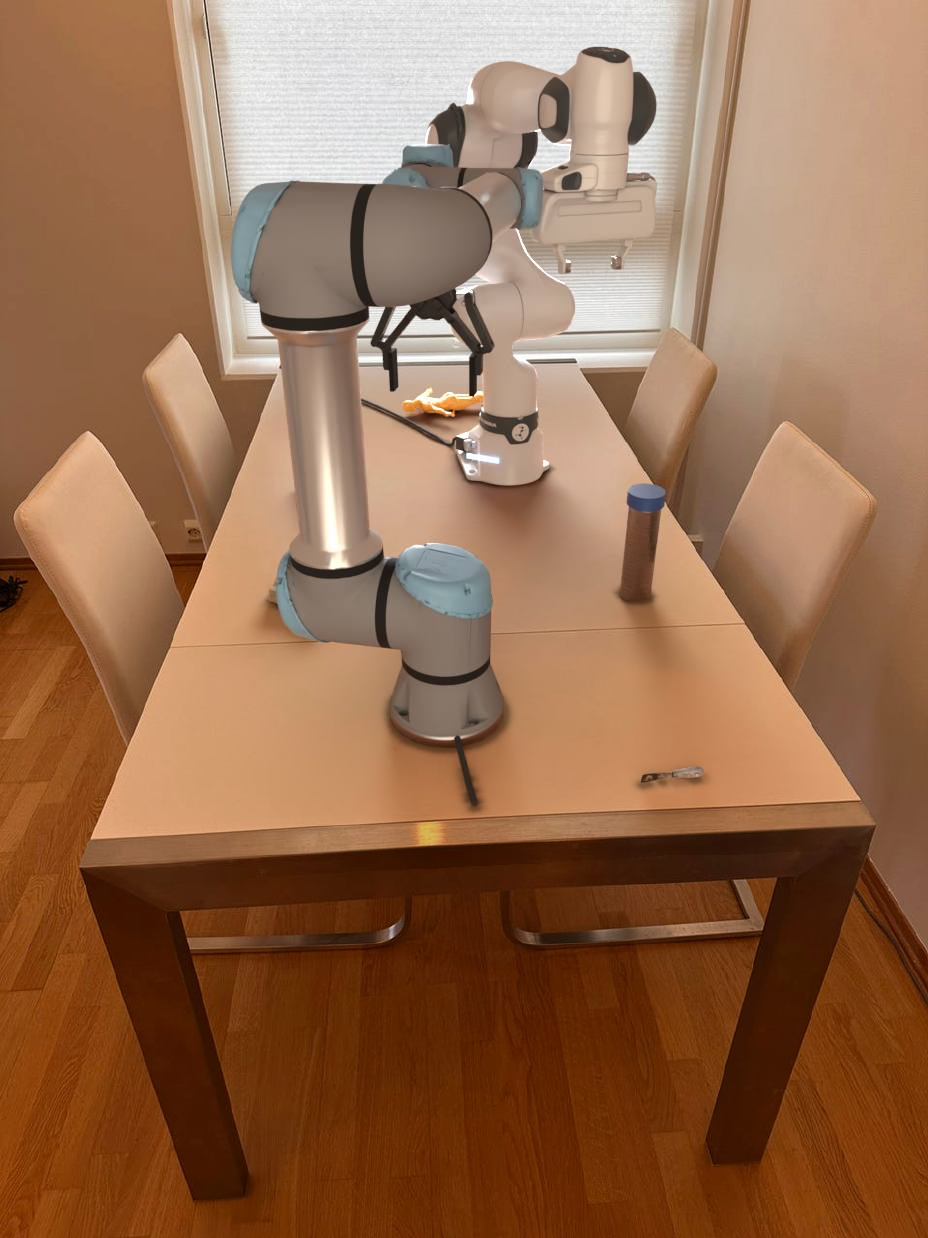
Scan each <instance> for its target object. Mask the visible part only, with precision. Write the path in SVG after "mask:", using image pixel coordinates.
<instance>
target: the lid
mask: <svg viewBox="0 0 928 1238" xmlns="http://www.w3.org/2000/svg"><path fill="white" fill-rule="evenodd" d="M666 496H667V490H666V489H665V488H664V487H662V486H659V485H657V484H653V483H636V484H635V483H634V484H632V485H631V486H629V487H628V488H627V495H626V505H627V506H628V508H629V507H630V508H632V509H635V510H638V511H644V512H653V511H658V510H661V511H662V510H663V508H665V503H666Z"/></svg>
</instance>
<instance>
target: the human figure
mask: <svg viewBox="0 0 928 1238" xmlns="http://www.w3.org/2000/svg"><path fill="white" fill-rule="evenodd" d="M424 391H425V392H423V393H422V394H420V395H418V396H416V398H415V399H414V400H404V401H403V402H402V411H404V412H405V413H410V414H412V413H414V412H417V408H418V409H420V410H421V411H423V412H424V413H427V414H439V415H443V416H444V417H449V416H450V417H451V418H452V417H453V418H454V417H455V416H456V414H455V411H462V410H464V409H467V408H469V407H471V406H473V405H476V404H478V403H481V402H482V403H483V391H478V390H477V392H476V394H475V395H474V397H469V393H468V394H460V393H457V394H455V393H453V392H446V393H444V394H443V395H442V396H441V397H440V398H434V397H429V396H430V395H432V394H433V392H434V391H433V389H432V385H429V387H428V389H424ZM450 410H452V411H450Z"/></svg>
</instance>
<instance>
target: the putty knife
mask: <svg viewBox="0 0 928 1238" xmlns="http://www.w3.org/2000/svg"><path fill="white" fill-rule="evenodd" d="M704 772H705V771H704V768H702V767H701V766H697V765H695V766H688V767H683V768H679V769H675V770H673V771H671V772H653V773H652V772H651V773H650V772H649V773H644V774H642V776H641V779H640V783H642V784H645V783H648V782H653V781H659V780H665V779H668V778H673V779H674V778H675V779H693V778H694V779H695V778H700V777H702V776H703V775H704Z"/></svg>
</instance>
